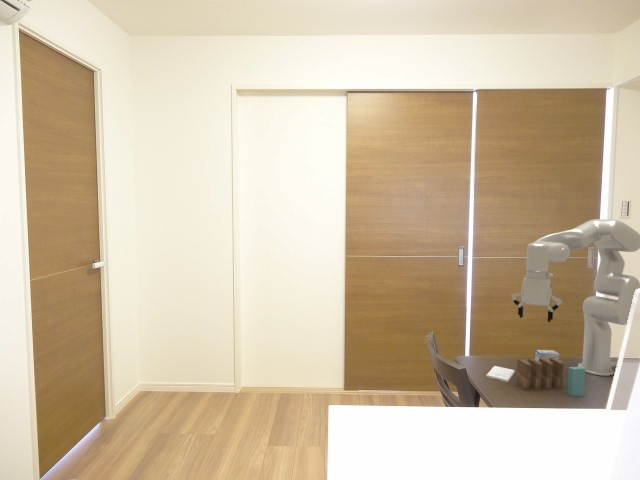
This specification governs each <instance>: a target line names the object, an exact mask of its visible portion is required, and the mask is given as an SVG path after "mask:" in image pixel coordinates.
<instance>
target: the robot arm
mask: <svg viewBox="0 0 640 480" xmlns="http://www.w3.org/2000/svg"><path fill="white" fill-rule="evenodd" d="M592 244H594V245H595V247H596V249H597V251H598V253H599V258H600V261H599V265H598V269H597V273H596V276H595V279H594V283H593V288H594V291H595V292H597V293H598V294H600V295H601V294H602V295H605V296H610V297H615V298H617V299H613V298H609V297H604V296H598V295H591V296H588V297H586V298H585V299H584V301H583V303H582V312H583V318H584V319H583V321H584V330H583V348H582V362H578V364H577V367H583V368H585V373H587V374H591V375H594V376H596V375H597V376H602V377H604V376H605V377H610V375H611V376H613V375H614V374H615V370H614V369H613V367H614V368H615V367H617V366H616V364H617V362H618V361H612V360H611V348H612V334H613V333H612V328H611V326H610V324H615V325H620V326H625V325H628V324H627V320H628V316H629V312H630V308H631V304H632V299H633V295H634V292H635V290H636V289H638V288H640V281H639V279H638V278H637V277H635V276H633V275H629V274H623V273H624V270H625V265H626V264H625V263H626V262H625V259H624V257H623V256H622V254H621V253H620V252H624V253H625V252H626V253H633V252H634V253H635V252H637V251H638V250H640V233H639V232H638V231H637V230H635V229H634V228H632V227H631V226H630V225H628V224H627V223H625V222H623V221H621V220H618V219H608V218H607V219H602V218H601V219H600V218H595V219H590V220H587V221H585V222H584V223H582V224H580V225H578V226H576V227H574V228H572V229H568V230H563V231H560V232H555V233H551V234H548V235H545V236H543V237H540V238H538V239H535V241H533V242H531V243H528V245H527V246H526V265H525V266H526V267H525V269H526V270H525V271H526V272H525V277H523V281H522V285H521V291H519V292H517V293H513V294H511V295H510V297H511V299H512V302H513V303H514V304H515V305H516V306H517V307H516V308H518V309H517V310H518V311H517V315H518V316H519V319H522V318H524V305H525V304H526V305H532V306H541V307H546V308H547V309H548V310H547V311H548V312H547V322H548V323H551V321H553V316H554V311H555V310H558V308H559V307H560V306H561V304H562V303H563V301H562V299H560V298H558V297H556V296H554V295H553V294H552V293H553V292H552V291H553V290H552V281H551V279H550V278H553V276H554V274H553V273H551V272H549V269H550V268H549V266H550V264H549V263H550V262H553V263H562V262H565V261H566V260H568V259H569V258H570V255H571V251H576V250H582V249H584V248H587V247H589V246H590V245H592ZM518 297H520V301H518V299H517V298H518ZM552 300H553V301H554V302H556V303H555V305H552ZM609 323H610V324H609Z"/></svg>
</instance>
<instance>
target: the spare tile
mask: <svg viewBox="0 0 640 480" xmlns="http://www.w3.org/2000/svg"><path fill="white" fill-rule="evenodd" d="M567 375H568V376H567V395H569V396H571V397H576V396H577V397H579V396H581V397H582V396H585V382H586V380H585V379H586V372H585V368H583V367H578V366H569V367H568V373H567Z"/></svg>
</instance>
